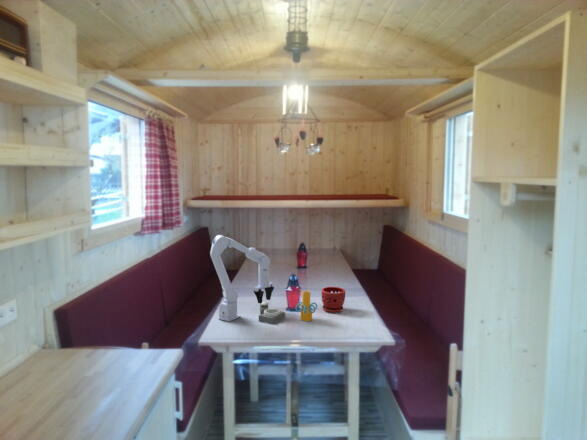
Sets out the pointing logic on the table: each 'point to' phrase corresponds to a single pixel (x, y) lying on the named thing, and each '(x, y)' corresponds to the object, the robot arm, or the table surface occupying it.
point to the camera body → (271, 316)
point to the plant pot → (333, 299)
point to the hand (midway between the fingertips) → (264, 301)
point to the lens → (263, 307)
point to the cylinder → (306, 306)
